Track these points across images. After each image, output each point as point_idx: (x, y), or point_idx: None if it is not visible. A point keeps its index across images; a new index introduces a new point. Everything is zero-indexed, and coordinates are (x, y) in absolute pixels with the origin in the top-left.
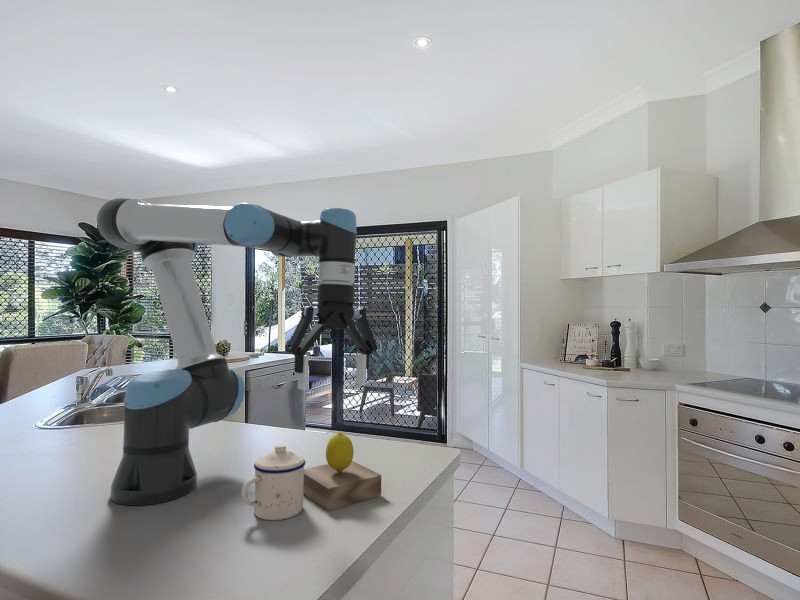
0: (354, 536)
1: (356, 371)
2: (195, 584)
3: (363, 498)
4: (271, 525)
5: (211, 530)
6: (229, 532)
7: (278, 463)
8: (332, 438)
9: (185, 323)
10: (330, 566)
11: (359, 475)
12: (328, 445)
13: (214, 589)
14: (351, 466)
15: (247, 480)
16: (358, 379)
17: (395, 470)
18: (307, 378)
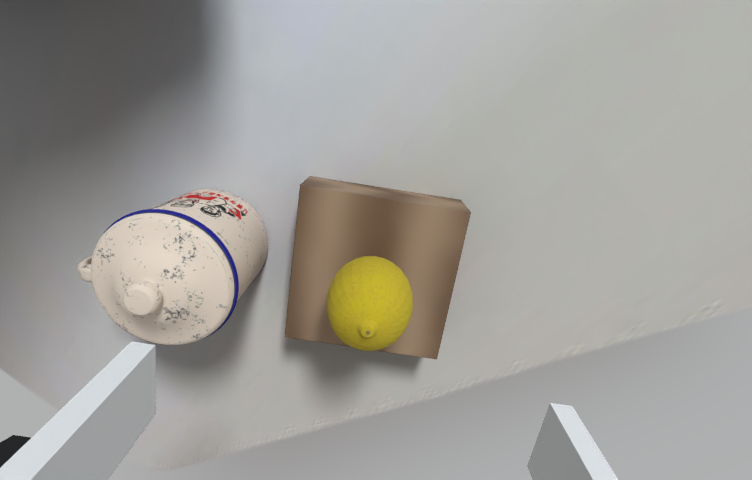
0: (271, 411)
1: (586, 474)
2: (15, 359)
3: None
4: None
5: (71, 223)
6: None
7: (132, 325)
8: (341, 316)
9: None
10: (192, 444)
11: None
12: (329, 303)
13: (36, 386)
14: (429, 263)
15: (81, 271)
16: (552, 453)
17: (590, 248)
18: (112, 471)
